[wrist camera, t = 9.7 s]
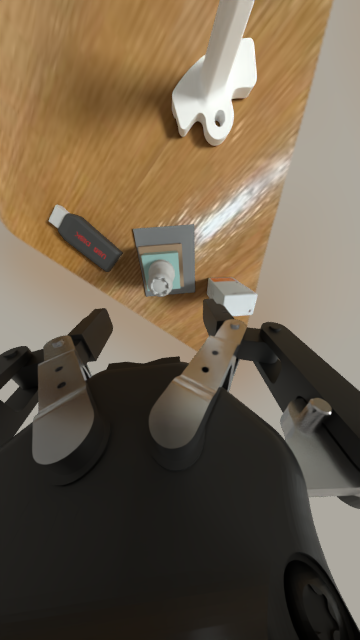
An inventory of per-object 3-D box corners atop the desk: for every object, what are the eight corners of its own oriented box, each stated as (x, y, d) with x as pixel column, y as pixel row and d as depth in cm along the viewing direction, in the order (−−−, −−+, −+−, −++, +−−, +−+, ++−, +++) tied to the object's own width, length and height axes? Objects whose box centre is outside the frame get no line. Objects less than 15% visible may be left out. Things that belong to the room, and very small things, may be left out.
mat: (133, 229, 28) (133, 229, 28) (193, 224, 29) (194, 224, 28) (146, 295, 35) (146, 296, 35) (194, 291, 36) (195, 292, 35)
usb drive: (110, 270, 32) (105, 273, 30) (53, 226, 28) (43, 225, 25) (123, 252, 31) (119, 254, 28) (65, 201, 26) (55, 198, 24)
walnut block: (141, 245, 29) (137, 247, 26) (180, 242, 30) (181, 243, 26) (148, 284, 34) (146, 289, 30) (182, 281, 34) (183, 286, 30)
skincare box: (232, 276, 35) (259, 293, 24) (229, 293, 37) (253, 315, 26) (207, 277, 34) (224, 295, 24) (206, 294, 36) (221, 317, 26)
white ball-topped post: (243, 43, 19) (1007, -1876, 2) (252, 125, 23) (521, -219, 5) (167, 95, 20) (168, -622, 3) (187, 164, 24) (236, -7, 7)
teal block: (144, 253, 27) (141, 255, 23) (176, 250, 27) (178, 252, 23) (150, 284, 30) (147, 291, 26) (178, 282, 30) (180, 288, 26)
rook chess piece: (160, 290, 26) (157, 309, 19) (143, 269, 24) (133, 283, 17) (179, 275, 25) (184, 290, 18) (163, 252, 23) (162, 260, 16)
